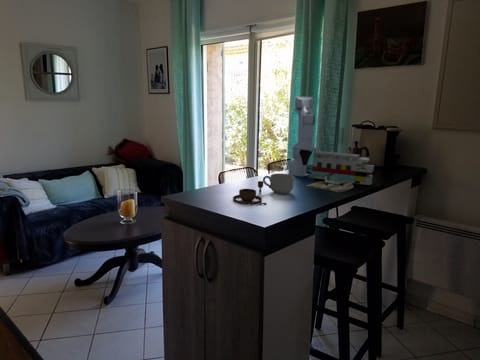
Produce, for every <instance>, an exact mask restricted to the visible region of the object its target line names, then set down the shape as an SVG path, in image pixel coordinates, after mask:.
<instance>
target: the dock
mask: <svg viewBox="0 0 480 360" xmlns="http://www.w3.org/2000/svg"><path fill="white" fill-rule="evenodd" d="M353 184H354V183H350V182H344V185H343V186H341V185H340V184H338V185H339V186H338V185H334V184H331V183H329V184H328V185H325V181H315V182H313V183H310V184H307V185H305V186H306V187H309V188H315V189H320V190H321V189H322V190H326V191H332V192H335V193H344V192H346V191H349V190H352V189H353V188H354V186H355V185H353Z"/></svg>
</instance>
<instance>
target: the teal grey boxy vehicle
mask: <svg viewBox="0 0 480 360" xmlns="http://www.w3.org/2000/svg"><path fill="white" fill-rule="evenodd" d="M324 182H325V185H328V184H329V183H331V184H334V185H338V184H340V185H341V186H343V185H344V181H343V180H342V176H338V175H333V173H331V174H326V175H325V179H324ZM338 186H339V185H338Z"/></svg>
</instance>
